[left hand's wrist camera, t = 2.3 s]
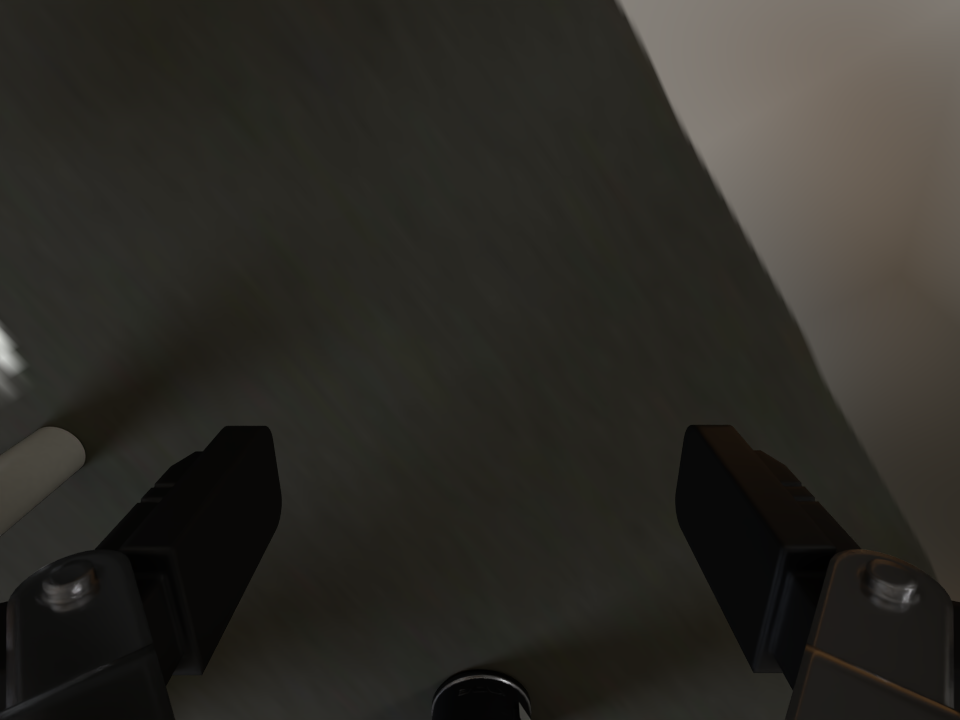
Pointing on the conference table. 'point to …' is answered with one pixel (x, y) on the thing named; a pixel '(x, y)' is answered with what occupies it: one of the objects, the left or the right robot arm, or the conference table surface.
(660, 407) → the conference table surface
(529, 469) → the conference table surface
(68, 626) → the left robot arm
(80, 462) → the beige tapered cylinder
